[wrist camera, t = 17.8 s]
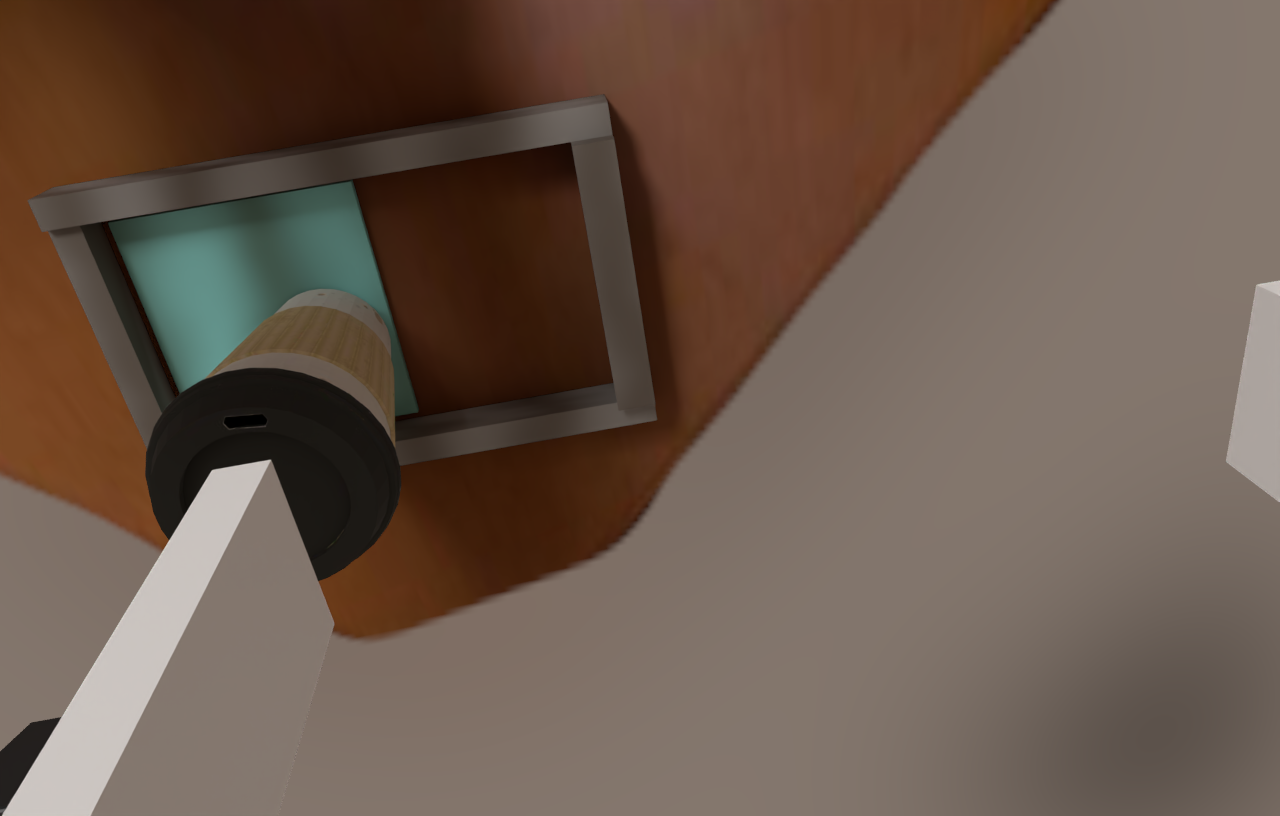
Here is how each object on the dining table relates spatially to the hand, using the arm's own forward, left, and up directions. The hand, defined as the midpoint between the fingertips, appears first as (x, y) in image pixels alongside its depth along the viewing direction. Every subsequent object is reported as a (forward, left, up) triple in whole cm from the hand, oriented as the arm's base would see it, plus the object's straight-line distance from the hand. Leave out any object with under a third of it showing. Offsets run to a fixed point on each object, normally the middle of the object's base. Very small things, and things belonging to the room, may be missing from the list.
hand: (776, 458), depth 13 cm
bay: (-13, -9, -37) cm, 40 cm away
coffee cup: (-16, -11, -36) cm, 41 cm away
